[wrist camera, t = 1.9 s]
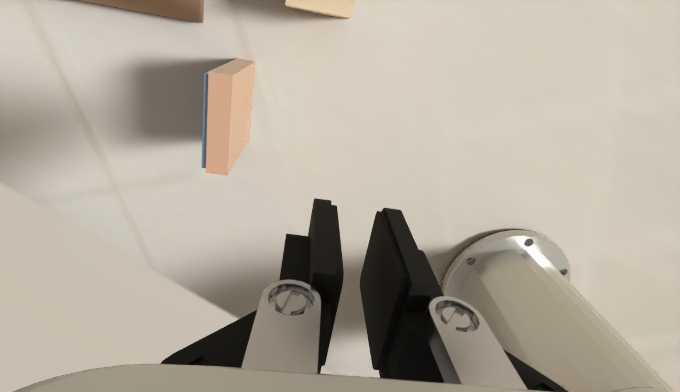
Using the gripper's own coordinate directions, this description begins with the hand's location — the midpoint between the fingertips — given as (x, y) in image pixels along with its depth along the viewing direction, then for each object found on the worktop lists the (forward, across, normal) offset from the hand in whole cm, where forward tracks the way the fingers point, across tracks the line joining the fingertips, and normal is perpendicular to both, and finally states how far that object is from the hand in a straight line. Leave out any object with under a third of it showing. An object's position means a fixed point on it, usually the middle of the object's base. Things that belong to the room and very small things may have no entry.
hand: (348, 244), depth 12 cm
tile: (+19, +7, 0) cm, 20 cm away
